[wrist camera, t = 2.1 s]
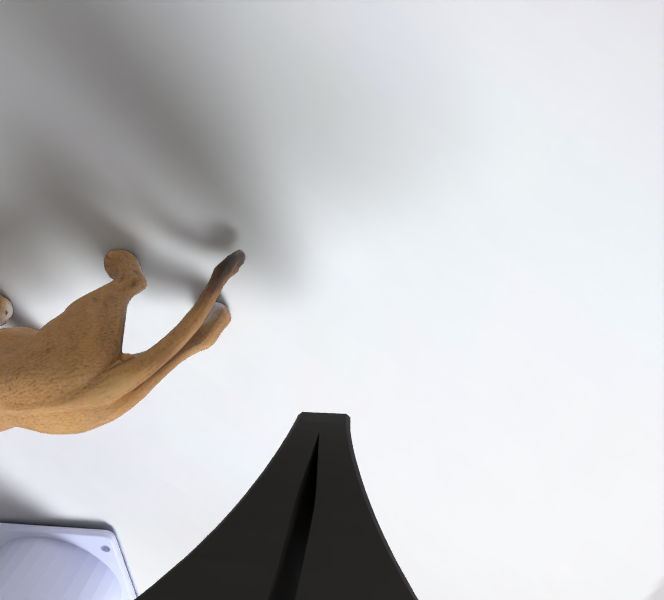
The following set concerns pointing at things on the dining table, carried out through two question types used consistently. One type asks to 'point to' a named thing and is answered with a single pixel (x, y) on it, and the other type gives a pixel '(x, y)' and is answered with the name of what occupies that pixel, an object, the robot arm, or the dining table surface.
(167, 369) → the lion figurine
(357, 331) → the dining table surface
